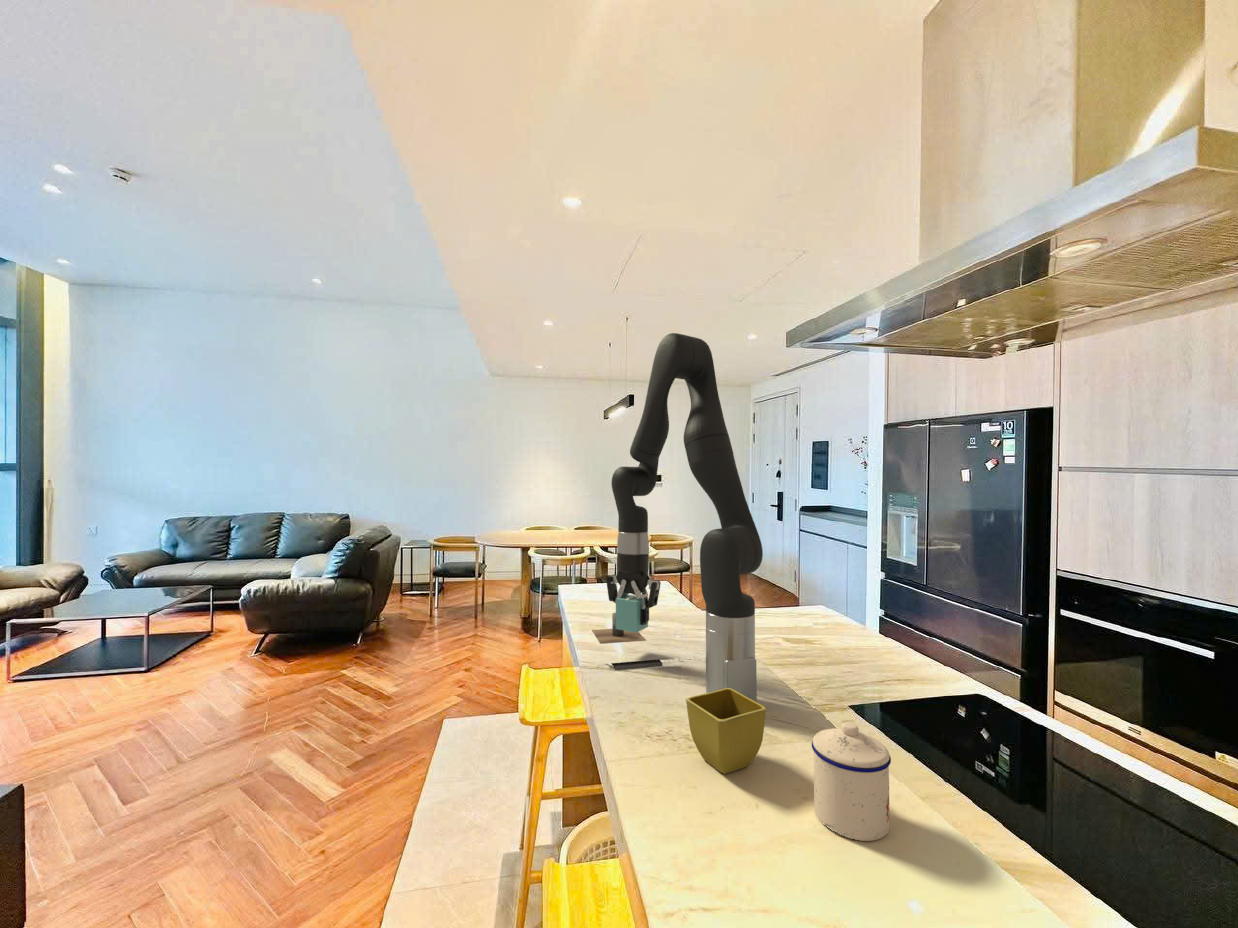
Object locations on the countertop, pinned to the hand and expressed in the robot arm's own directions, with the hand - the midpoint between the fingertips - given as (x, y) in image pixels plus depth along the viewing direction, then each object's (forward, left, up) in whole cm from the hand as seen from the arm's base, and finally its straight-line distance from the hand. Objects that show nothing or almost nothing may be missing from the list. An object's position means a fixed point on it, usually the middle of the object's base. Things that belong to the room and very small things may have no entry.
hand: (632, 621), depth 122 cm
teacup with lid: (-60, -12, -9) cm, 62 cm away
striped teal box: (0, 0, -1) cm, 1 cm away
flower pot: (-46, -2, -9) cm, 47 cm away
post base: (+15, 0, -9) cm, 17 cm away
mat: (0, 0, -9) cm, 9 cm away
